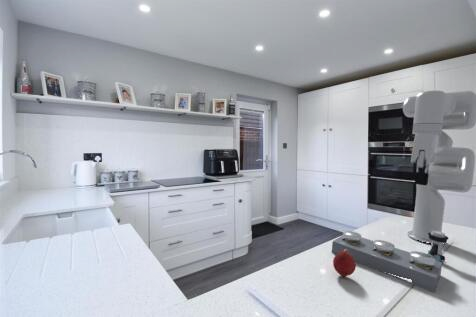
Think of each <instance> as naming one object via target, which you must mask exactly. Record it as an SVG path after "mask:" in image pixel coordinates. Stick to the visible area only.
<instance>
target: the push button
mask: <svg viewBox="0 0 476 317" xmlns="http://www.w3.org/2000/svg"><path fill="white" fill-rule="evenodd" d="M428 235H429V239H431V240H432V244H430V250H428V252H427V254H428V255H431V256H432V257H434V258H435V260H436V261H439V262H442V266H446V264H447V263H448V262H446V261H445V260H446V257H445V256H444V255H443V247H444V245H443V243H445V244H446V243H447V241H448V240H449V237H448V236H447V235H446V233H445V232H443V231H441V232H439V231H432V232H429V233H428Z"/></svg>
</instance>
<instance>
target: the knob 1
mask: <svg viewBox="0 0 476 317" xmlns="http://www.w3.org/2000/svg"><path fill="white" fill-rule="evenodd" d="M342 236H343V239H344V240H345V241H346V242H349V243H352V244H355V245H357V244H358V243H360V242H361V237H362V234H361V233H359V232H356V231H352V230H344V231H343V233H342Z"/></svg>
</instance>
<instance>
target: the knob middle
mask: <svg viewBox="0 0 476 317" xmlns="http://www.w3.org/2000/svg"><path fill="white" fill-rule="evenodd" d="M373 241H374V244H373V248H374V249H375V251H376V252H379V253H382V254H385V255H387V256H391V254H393V253H394V248H396V247H395V244H393V243H392V242H389V241H386V240H381V239H375V240H373Z"/></svg>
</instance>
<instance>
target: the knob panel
mask: <svg viewBox="0 0 476 317" xmlns="http://www.w3.org/2000/svg"><path fill="white" fill-rule="evenodd" d="M373 244H374V240H371V239H368V238H365V237H362V236H361V242H360V243H358V244H357V245H355V244H352V243H349V242H346V241H345V240H344V239H343V235H341V236H339V237H338V238H336V239H334V240H333V241H332V244H331V253H333V254H334V255H335V254H336V255H337V254H338V253H340V252H342V251H343V250H345V249H347V250H348V254H350V255H351V256H352V258H353V259H354V261H355V263H357V264H358V263H359V264H361V265H363V266H366V267H369V268H371V269H373V268H374V270H376V269H377V270H376V271H378V270H380V271H379V272H381V271H383V272H382V273H384V272H386V273H390V274H393V275H396V276H399V277H403V278H407V279H411V280H412V283H411V284H412V285H415V286H417V287H420V288H422V289H425V290H427V291H430V292H432V293H436V290H437V287H438V284H439V281H440V278H441V274H442V267H443V264H442V262H439V261H436V260H435V267H433V268H431V270H429V269H426V268H423V267H420V266H417V265H414V264H412V261H410V252H411V251H410V252H409V251H407V250H403V249H400V248H396V247H395V248H394V253H393V254H391V256H387V255H385V254H382V253H379V252H376V251H375V249H374V248H373ZM386 273H385V274H386Z"/></svg>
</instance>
